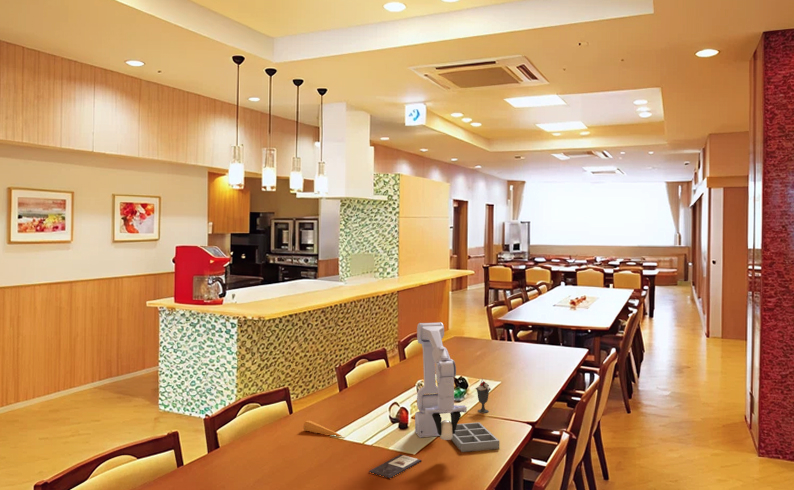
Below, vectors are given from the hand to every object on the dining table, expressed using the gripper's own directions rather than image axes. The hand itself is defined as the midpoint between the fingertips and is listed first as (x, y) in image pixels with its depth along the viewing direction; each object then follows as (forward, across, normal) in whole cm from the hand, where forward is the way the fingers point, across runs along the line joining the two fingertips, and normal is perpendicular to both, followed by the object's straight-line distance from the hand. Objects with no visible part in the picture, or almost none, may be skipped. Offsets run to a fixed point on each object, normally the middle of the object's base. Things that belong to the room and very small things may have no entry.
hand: (446, 433), depth 206 cm
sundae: (+9, +31, +47) cm, 57 cm away
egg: (+1, 0, 0) cm, 1 cm away
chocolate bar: (+9, -19, -4) cm, 22 cm away
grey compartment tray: (+8, +14, +14) cm, 21 cm away
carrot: (+9, -40, +34) cm, 53 cm away
